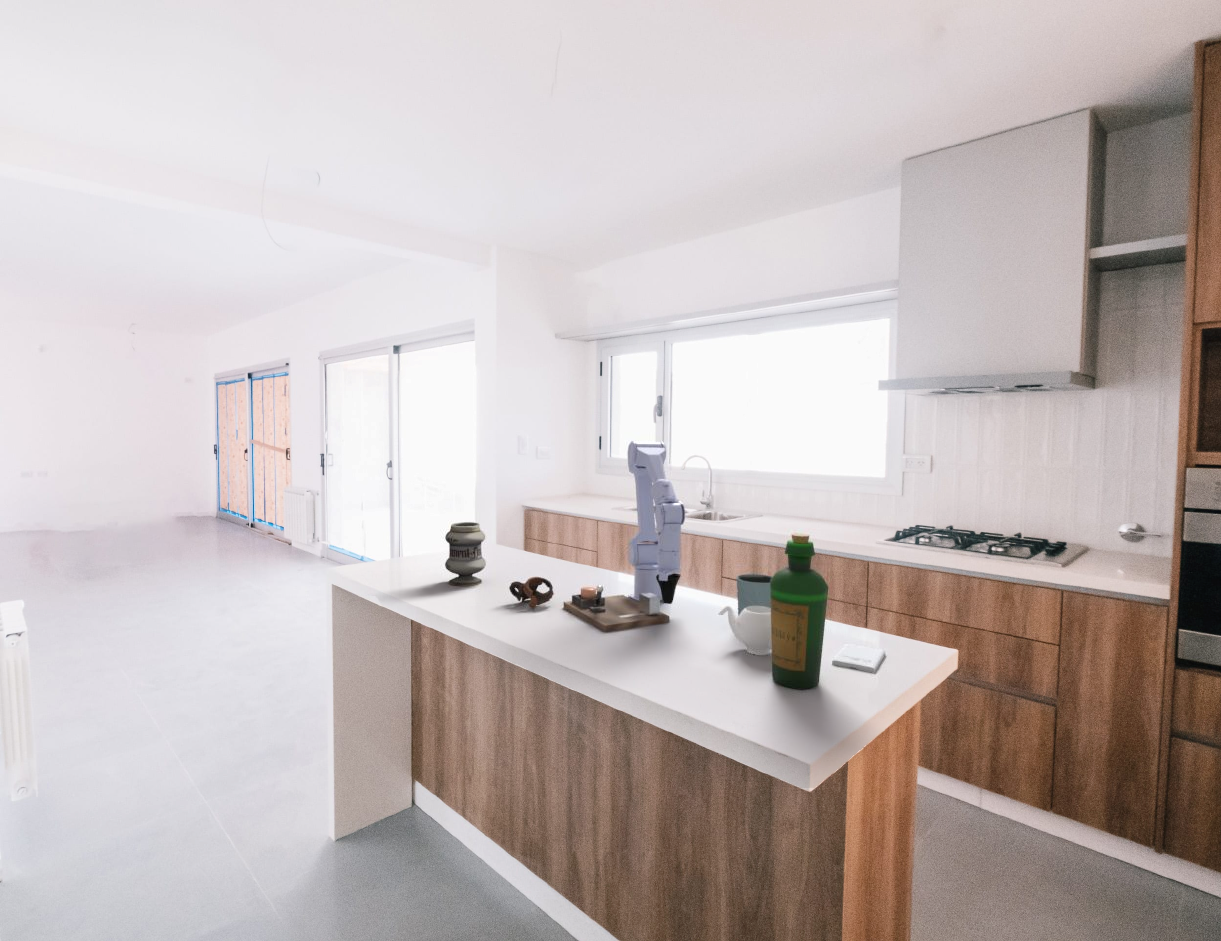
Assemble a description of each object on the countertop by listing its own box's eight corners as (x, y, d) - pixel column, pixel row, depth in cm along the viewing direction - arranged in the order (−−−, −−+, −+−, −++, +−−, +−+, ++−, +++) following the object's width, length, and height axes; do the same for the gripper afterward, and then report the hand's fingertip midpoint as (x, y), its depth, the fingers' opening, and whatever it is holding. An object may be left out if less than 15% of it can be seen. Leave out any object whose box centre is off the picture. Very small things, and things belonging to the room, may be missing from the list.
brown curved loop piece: (551, 600, 181) (558, 578, 177) (545, 624, 173) (552, 601, 169) (509, 589, 180) (515, 566, 176) (501, 612, 172) (507, 589, 168)
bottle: (758, 671, 128) (763, 530, 127) (811, 670, 129) (816, 530, 127) (777, 693, 118) (782, 539, 116) (834, 692, 119) (840, 539, 117)
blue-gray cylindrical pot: (729, 629, 156) (731, 579, 155) (742, 618, 165) (743, 571, 164) (772, 635, 151) (774, 584, 150) (782, 624, 160) (784, 576, 159)
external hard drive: (884, 657, 139) (874, 675, 129) (845, 650, 144) (831, 666, 133) (885, 650, 139) (874, 667, 129) (845, 642, 144) (832, 659, 133)
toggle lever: (599, 604, 165) (602, 583, 163) (602, 608, 164) (605, 586, 162) (592, 605, 164) (595, 584, 162) (595, 608, 163) (598, 587, 161)
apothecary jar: (438, 585, 193) (438, 525, 192) (454, 577, 205) (454, 520, 204) (477, 588, 191) (477, 527, 190) (491, 579, 203) (491, 521, 202)
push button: (591, 595, 173) (591, 586, 173) (598, 599, 169) (598, 589, 169) (578, 597, 171) (578, 588, 171) (584, 601, 168) (584, 591, 167)
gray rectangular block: (649, 608, 166) (649, 592, 166) (659, 613, 161) (660, 596, 161) (638, 609, 164) (639, 593, 164) (649, 615, 160) (649, 598, 160)
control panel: (622, 600, 181) (622, 587, 180) (669, 622, 161) (669, 608, 160) (563, 607, 172) (563, 594, 172) (604, 631, 152) (605, 617, 152)
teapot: (728, 636, 150) (729, 596, 149) (811, 657, 137) (813, 613, 136) (706, 646, 143) (707, 604, 142) (791, 669, 130) (793, 623, 129)
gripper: (659, 544, 173) (658, 594, 174) (647, 553, 159) (646, 608, 160) (685, 545, 171) (684, 597, 172) (675, 555, 157) (674, 611, 158)
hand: (667, 602), depth 166 cm, fingers closed
